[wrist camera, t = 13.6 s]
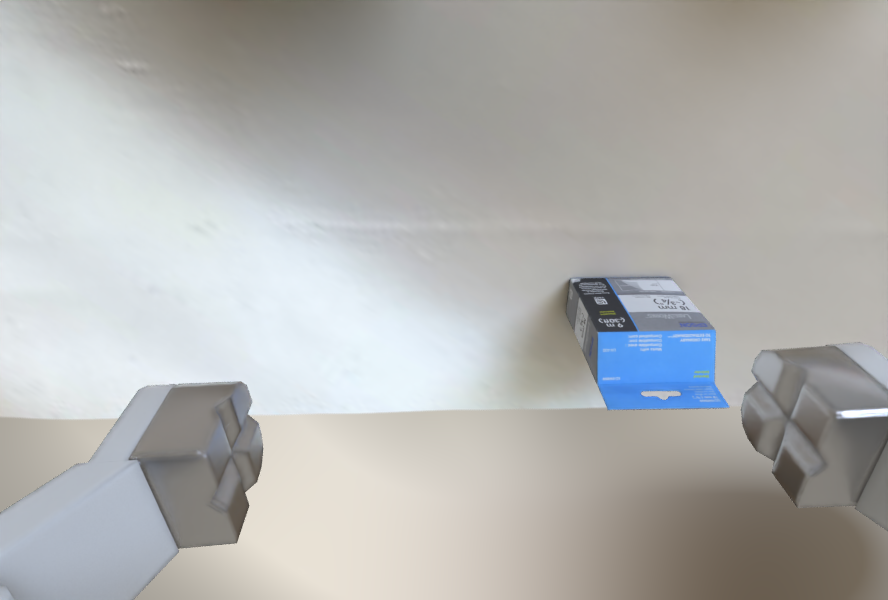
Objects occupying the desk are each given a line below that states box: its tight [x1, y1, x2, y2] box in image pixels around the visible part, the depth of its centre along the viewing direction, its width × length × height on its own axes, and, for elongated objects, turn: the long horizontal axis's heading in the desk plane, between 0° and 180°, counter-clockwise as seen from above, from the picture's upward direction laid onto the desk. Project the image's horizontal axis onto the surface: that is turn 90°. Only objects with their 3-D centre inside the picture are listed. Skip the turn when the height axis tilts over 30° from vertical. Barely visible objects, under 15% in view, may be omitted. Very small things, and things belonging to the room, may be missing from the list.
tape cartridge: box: [566, 278, 730, 410], centre depth 42 cm, size 9×4×12 cm, turn 89°
